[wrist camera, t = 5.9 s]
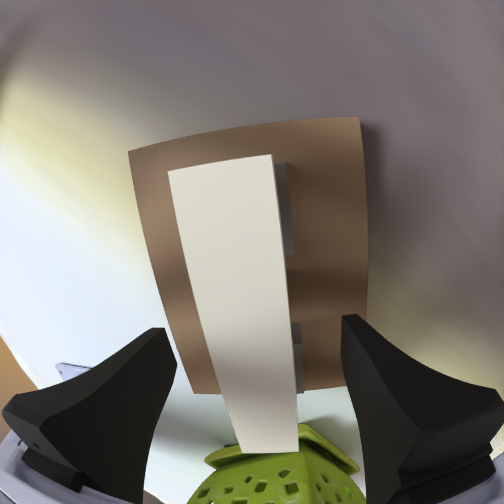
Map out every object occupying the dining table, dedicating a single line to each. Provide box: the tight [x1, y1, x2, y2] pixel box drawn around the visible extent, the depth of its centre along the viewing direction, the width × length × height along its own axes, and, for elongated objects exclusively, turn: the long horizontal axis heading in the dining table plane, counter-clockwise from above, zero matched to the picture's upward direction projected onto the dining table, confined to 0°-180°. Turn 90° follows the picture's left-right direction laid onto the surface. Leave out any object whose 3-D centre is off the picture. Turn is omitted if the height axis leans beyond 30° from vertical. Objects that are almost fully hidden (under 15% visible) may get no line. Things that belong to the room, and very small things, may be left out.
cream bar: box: [168, 154, 299, 453], centre depth 12 cm, size 14×3×4 cm, turn 8°
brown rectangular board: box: [128, 117, 368, 394], centre depth 15 cm, size 17×12×5 cm
